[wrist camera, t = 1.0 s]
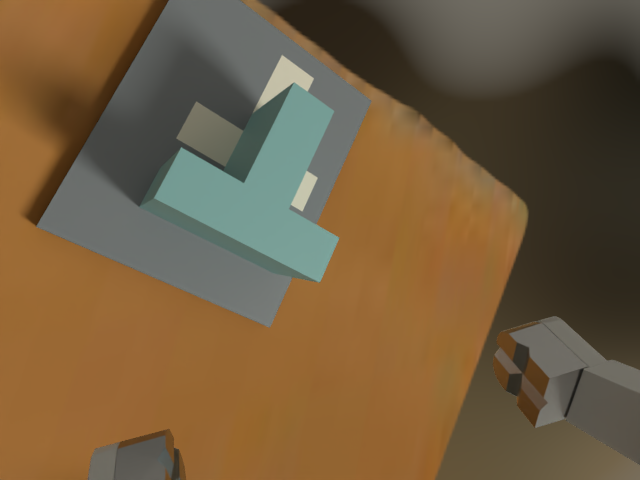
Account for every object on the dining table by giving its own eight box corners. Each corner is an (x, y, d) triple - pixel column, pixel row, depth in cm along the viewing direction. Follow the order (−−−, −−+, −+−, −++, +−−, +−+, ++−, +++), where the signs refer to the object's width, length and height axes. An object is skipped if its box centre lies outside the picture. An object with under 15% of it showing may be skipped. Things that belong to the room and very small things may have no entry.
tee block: (139, 206, 39) (154, 198, 30) (206, 83, 42) (237, 41, 33) (274, 273, 45) (319, 282, 36) (325, 161, 47) (380, 144, 39)
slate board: (37, 227, 37) (36, 226, 36) (188, -31, 42) (190, -38, 41) (265, 325, 46) (269, 327, 45) (365, 103, 51) (371, 100, 50)
